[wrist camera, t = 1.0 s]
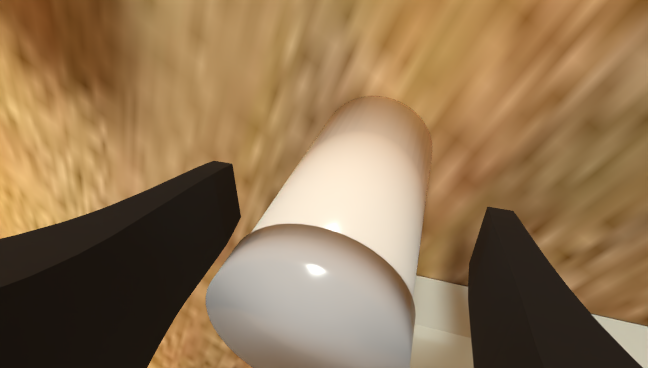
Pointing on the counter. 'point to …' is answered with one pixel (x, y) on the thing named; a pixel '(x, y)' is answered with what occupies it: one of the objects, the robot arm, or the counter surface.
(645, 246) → the counter surface
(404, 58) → the counter surface
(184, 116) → the counter surface
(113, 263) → the robot arm
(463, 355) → the tray
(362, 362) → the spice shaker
